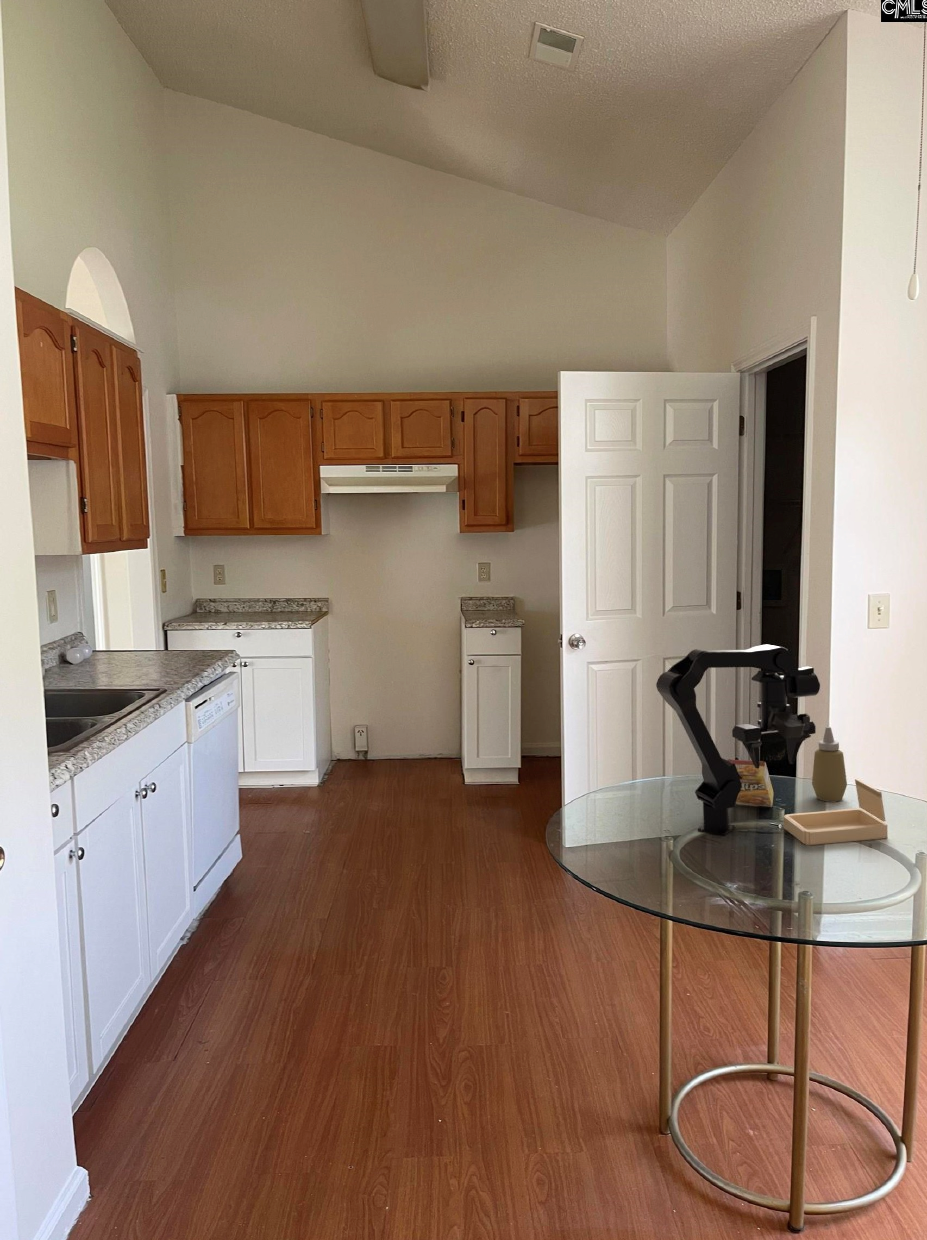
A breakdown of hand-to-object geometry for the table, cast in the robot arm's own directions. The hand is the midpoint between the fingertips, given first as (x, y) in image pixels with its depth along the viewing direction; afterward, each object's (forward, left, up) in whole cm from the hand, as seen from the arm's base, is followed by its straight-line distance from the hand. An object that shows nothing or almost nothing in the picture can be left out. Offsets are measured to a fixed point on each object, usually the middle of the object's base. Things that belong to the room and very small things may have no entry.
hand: (774, 765), depth 202 cm
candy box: (+9, +9, -12) cm, 17 cm away
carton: (-2, -14, -13) cm, 19 cm away
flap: (+5, -20, -10) cm, 23 cm away
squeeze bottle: (+22, -5, -13) cm, 26 cm away
